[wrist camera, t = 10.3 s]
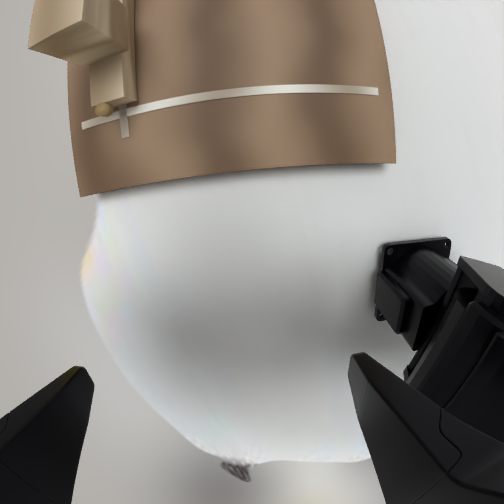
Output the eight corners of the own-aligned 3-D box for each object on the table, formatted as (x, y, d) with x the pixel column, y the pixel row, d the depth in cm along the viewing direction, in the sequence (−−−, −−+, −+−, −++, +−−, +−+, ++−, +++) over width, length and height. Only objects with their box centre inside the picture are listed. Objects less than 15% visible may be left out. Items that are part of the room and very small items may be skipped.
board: (356, -15, 12) (366, -27, 10) (382, 160, 17) (396, 163, 15) (83, 18, 12) (70, 10, 10) (94, 191, 18) (79, 197, 16)
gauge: (151, -38, 11) (110, -104, 2) (156, 115, 16) (83, 98, 7) (114, -26, 11) (60, -80, 2) (115, 125, 16) (25, 124, 7)
